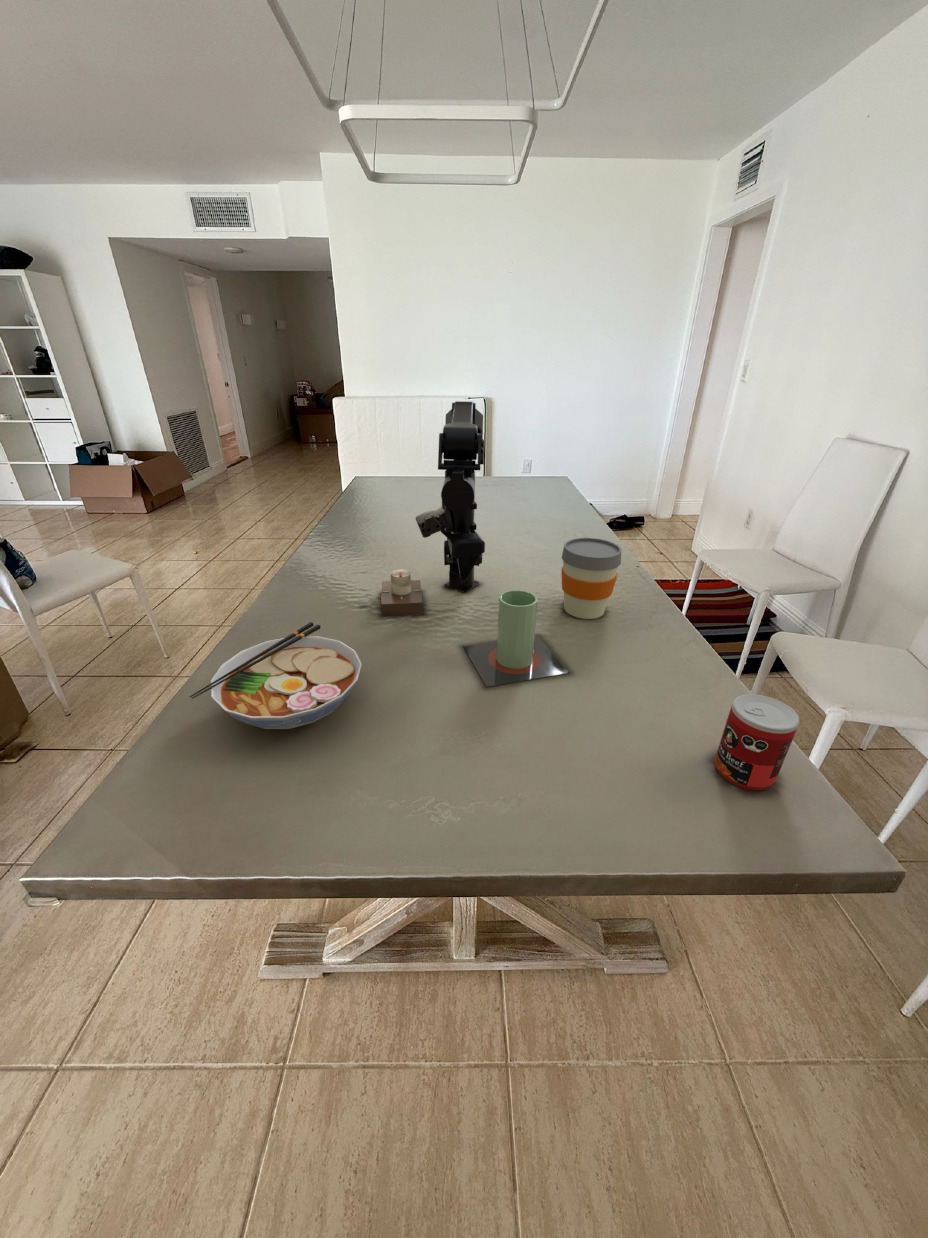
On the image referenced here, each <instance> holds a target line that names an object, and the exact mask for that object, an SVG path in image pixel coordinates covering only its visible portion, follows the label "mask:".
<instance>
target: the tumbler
mask: <svg viewBox="0 0 928 1238" xmlns="http://www.w3.org/2000/svg"><path fill="white" fill-rule="evenodd" d="M538 601H539V598H538V596H537V595H536V594H534V593H533V592H531V591H527V590H523V589H509V590H506V591H503V592H502V593H500V594H499V596H498V613H497V616H498V617H497V629H496V642H497V650H496V659H497V661H498V663H499V664H501V665H502V666H504V667H507V668H512V669H520V668H525V667H527V666H529V665H530V664H531V662H532V658H533V647H534V636H536V623H537V612H538V603H539V602H538Z"/></svg>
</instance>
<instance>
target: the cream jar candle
mask: <svg viewBox="0 0 928 1238" xmlns="http://www.w3.org/2000/svg"><path fill="white" fill-rule="evenodd" d="M411 579H412V578H411V571H410V570H408V569H395V570H392V571H391V572H390V581H391V589H392V593H393V594H395V595H407V594H409V593H410V592H411V581H412V580H411Z"/></svg>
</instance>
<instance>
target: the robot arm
mask: <svg viewBox="0 0 928 1238" xmlns="http://www.w3.org/2000/svg"><path fill="white" fill-rule="evenodd" d="M476 407H477V404H476V402H473V401H461V400H459V401H458V400H457V401H456V400H455V401H454V402H452V403H451V409H450V410H449V411H448V412H447V413H445V424H444V426H443V428H442V432H439V434H438V453H437V454H438V457H437V470H439V471H440V470H441V471H444V481H443V483H442V488H441V492H440V497H441V506H439V507H436V508H433V509H430V510H428V511H426V512H423V513H421V514H419V515H417V516H415V519H414V520H415V522H416V524H417V527H418V529H419V532H420V534H421V535H422V538H425V539H426V538H429V537H431V536H432V535H434V534H437V533H439V532H440V533H441V534H442V535H444V536H445V537H446V540H444V541H443V563H444V566H449V571H448V581H447V582H446V583H444V584H443V585H444V587H445V588H448V589H450V590H451V589H452V590H455V591H458V592H462V593H468V592H470V591H471V590H473V589H474V588H475V587H476V586H479V585H480V582H479V581H478V580H475V566H476V567H480V565H481V564H483V554H485V552H486V542H485V541H484V539H483V537H482V536H481V535H480V534H479V533H478V532H476V531H477V523H476V522H475V510H477V509H478V503H477V501H476V495H475V494H476V471H481V465H485V439H484V437H483V435H484V414H482V413H481V412H480V411H479V410H478V408H476ZM476 460H477V462H476Z"/></svg>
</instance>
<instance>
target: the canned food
mask: <svg viewBox="0 0 928 1238" xmlns="http://www.w3.org/2000/svg"><path fill="white" fill-rule="evenodd" d="M799 723H800V717H799V715H798V713H797V712H796V710H794V709H793V708H792V707H791V706H789V705H788V704H786V703H784V702H783V701H780V700H779V699H776V698H774V697H770V696H768V695H767V696H766V695H762V694H757V693H756V694H754V693H746V694H742V695H739V696H737V697H735V698H734V700H733V702H732V704H731V706H730V710H729V713H728V716H727V718H726V722H725V726H724V728H723V731H722V734H721V738H720V741H719V745H718V748H717V751H716V753H715V756H714V757H715V758H714V763H715V767H716V768H715V769H716V771H717V772H718V773H719V775H720V776H721V778H723V779H724V780H726V781H727V782H729V783H730V784H732V785H734V786H735V787H738V788H741V789H744V790H750V791H764V790H767V789H769V788H771V786H773V785H774V783H775V782H776V781H777V778H778V777H779V773H780V771H781V769H782V767H783V765H784V762H785V760H786V757H787V754H788V752H789V750H790V747H791V745H792V743H793V740H794V738H795V735H796V733H797V730H798V727H799Z"/></svg>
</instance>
